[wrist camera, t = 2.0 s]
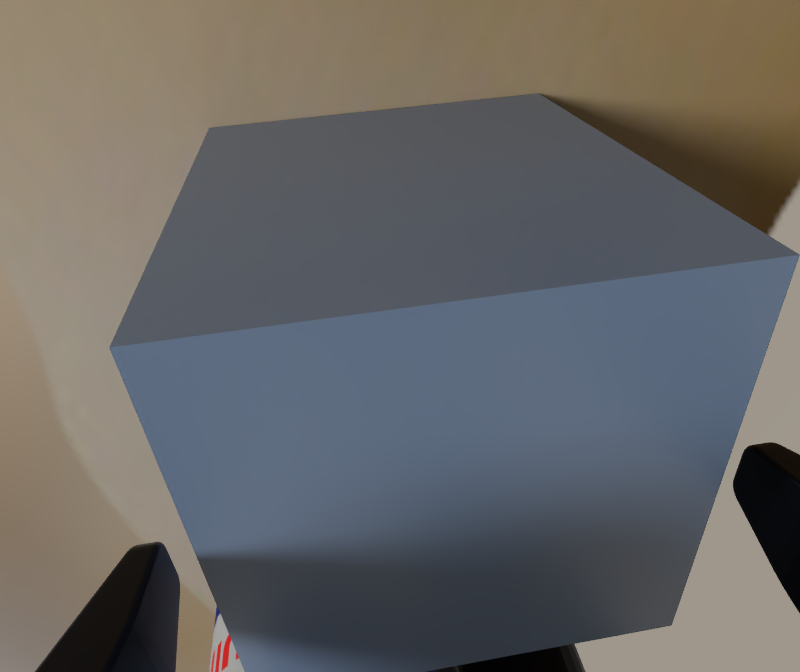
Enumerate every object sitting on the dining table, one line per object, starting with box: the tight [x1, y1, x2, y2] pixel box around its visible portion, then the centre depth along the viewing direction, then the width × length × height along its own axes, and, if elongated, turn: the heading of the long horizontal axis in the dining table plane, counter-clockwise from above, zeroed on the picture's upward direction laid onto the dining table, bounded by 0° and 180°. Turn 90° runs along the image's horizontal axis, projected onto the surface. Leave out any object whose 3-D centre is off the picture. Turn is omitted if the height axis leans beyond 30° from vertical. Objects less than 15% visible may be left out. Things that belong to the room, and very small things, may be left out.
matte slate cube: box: [109, 94, 799, 672], centre depth 12 cm, size 8×8×9 cm
